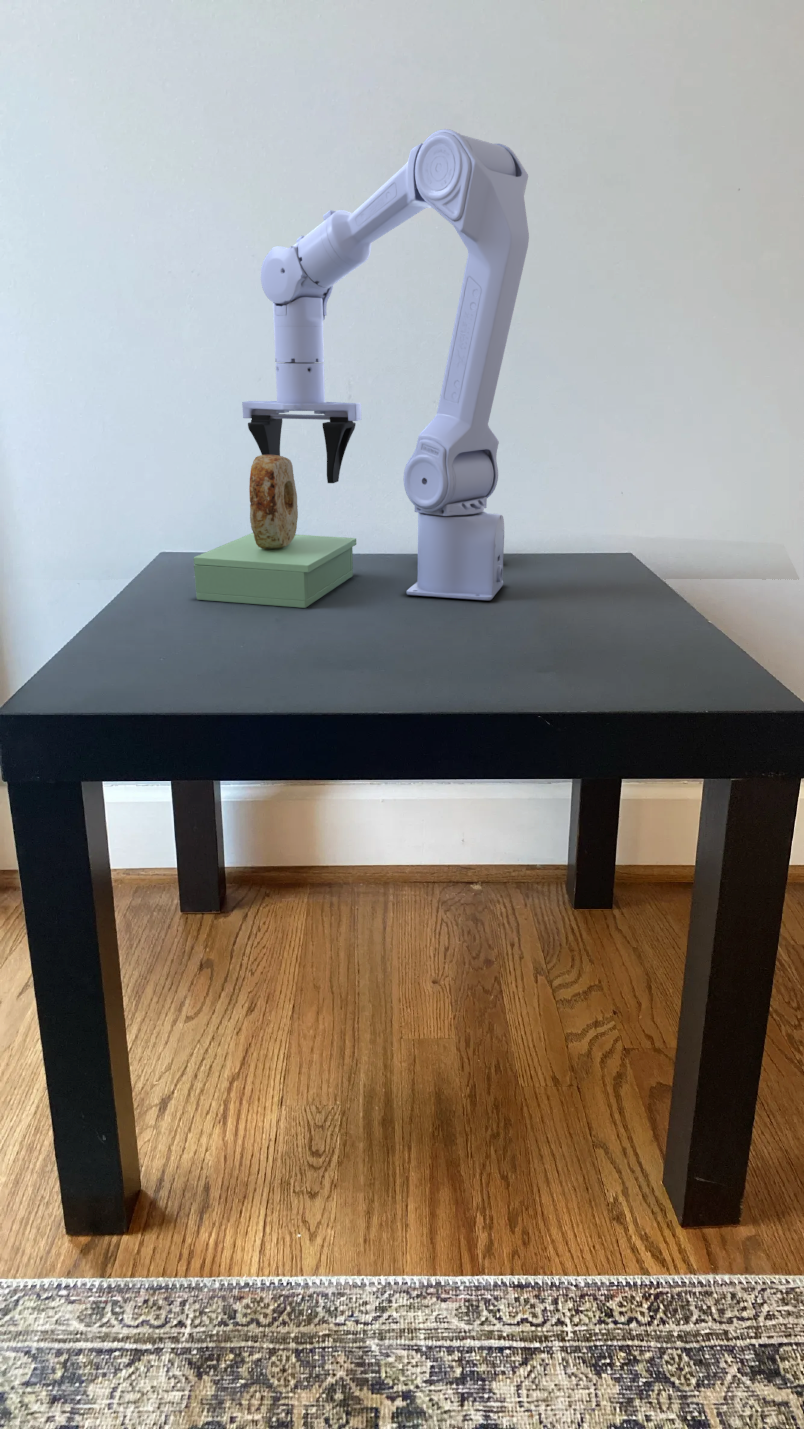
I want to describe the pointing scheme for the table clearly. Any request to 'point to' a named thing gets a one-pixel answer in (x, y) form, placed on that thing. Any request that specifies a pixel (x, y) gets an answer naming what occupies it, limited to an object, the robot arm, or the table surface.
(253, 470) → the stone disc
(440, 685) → the table surface
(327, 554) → the lunchbox lid
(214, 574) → the box
